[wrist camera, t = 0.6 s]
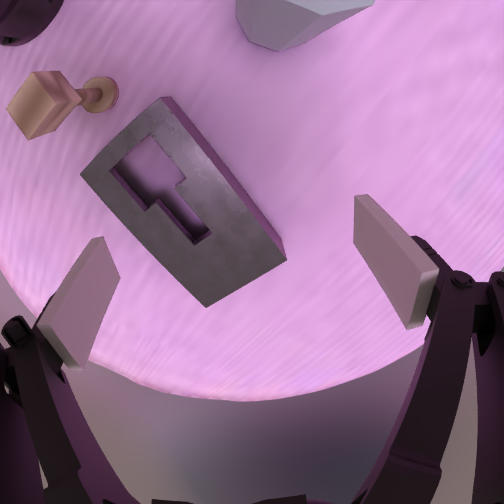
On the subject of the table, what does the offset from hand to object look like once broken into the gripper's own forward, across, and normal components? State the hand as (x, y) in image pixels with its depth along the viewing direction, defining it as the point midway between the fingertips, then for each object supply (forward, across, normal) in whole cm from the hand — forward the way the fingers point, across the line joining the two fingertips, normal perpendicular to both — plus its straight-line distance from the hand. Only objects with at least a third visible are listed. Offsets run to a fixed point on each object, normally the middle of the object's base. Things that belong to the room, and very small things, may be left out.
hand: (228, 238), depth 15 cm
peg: (+27, -16, +10) cm, 33 cm away
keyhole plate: (+26, -7, -8) cm, 28 cm away
